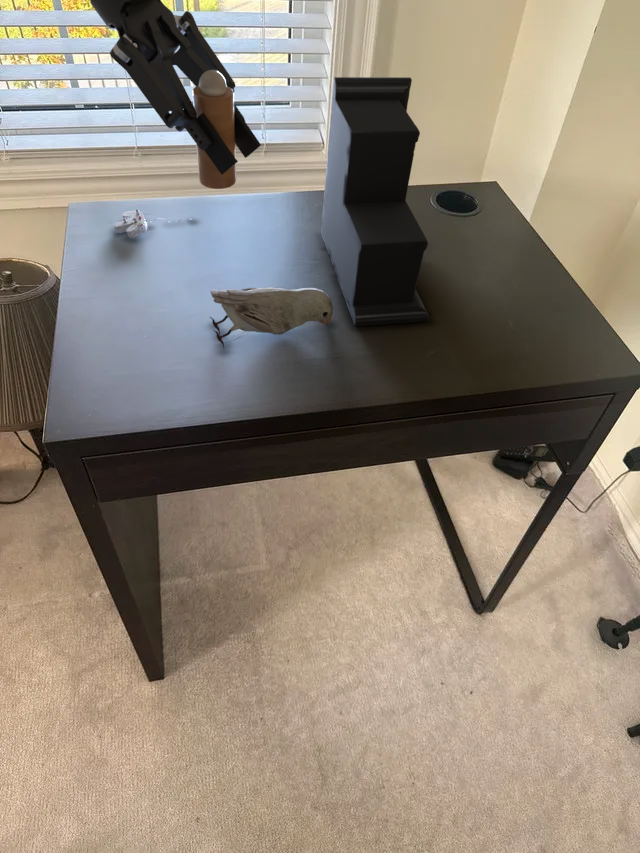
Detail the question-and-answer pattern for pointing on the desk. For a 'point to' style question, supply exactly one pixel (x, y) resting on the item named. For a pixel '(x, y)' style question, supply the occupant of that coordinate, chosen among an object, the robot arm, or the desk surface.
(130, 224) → the game controller
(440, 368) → the desk surface
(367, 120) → the bookend
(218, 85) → the pepper mill
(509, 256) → the desk surface
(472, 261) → the desk surface
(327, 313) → the decorative bird
